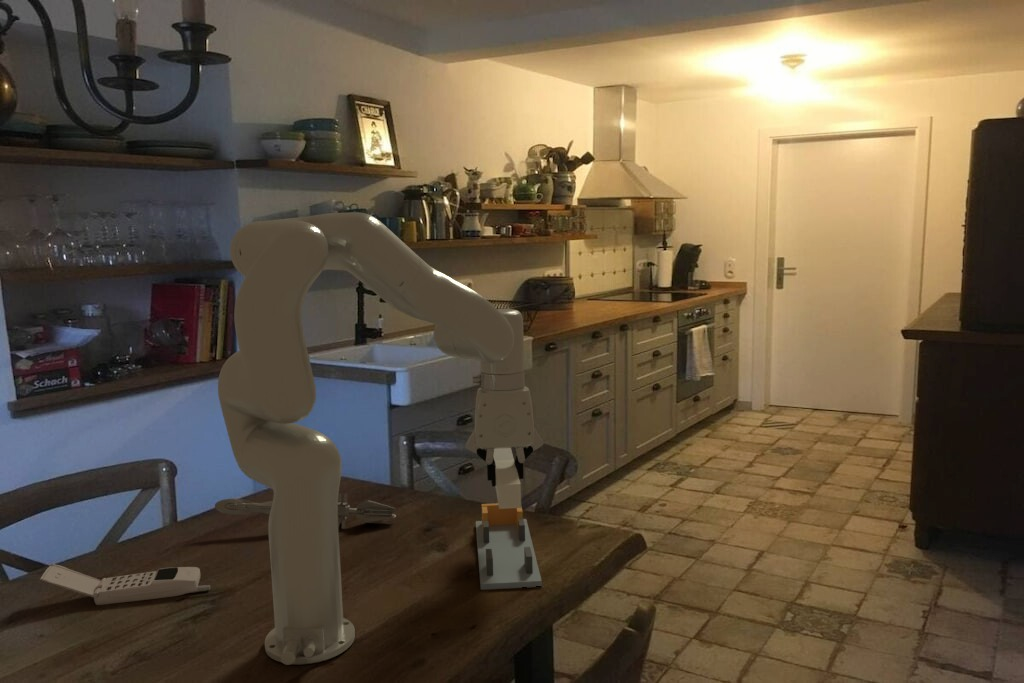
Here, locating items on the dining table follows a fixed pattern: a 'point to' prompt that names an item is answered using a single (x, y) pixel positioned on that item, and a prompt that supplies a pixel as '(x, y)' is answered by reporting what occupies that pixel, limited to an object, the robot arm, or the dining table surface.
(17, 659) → the dining table surface
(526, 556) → the clip rail
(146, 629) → the dining table surface
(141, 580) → the mobile phone
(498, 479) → the long cream stick
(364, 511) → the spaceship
